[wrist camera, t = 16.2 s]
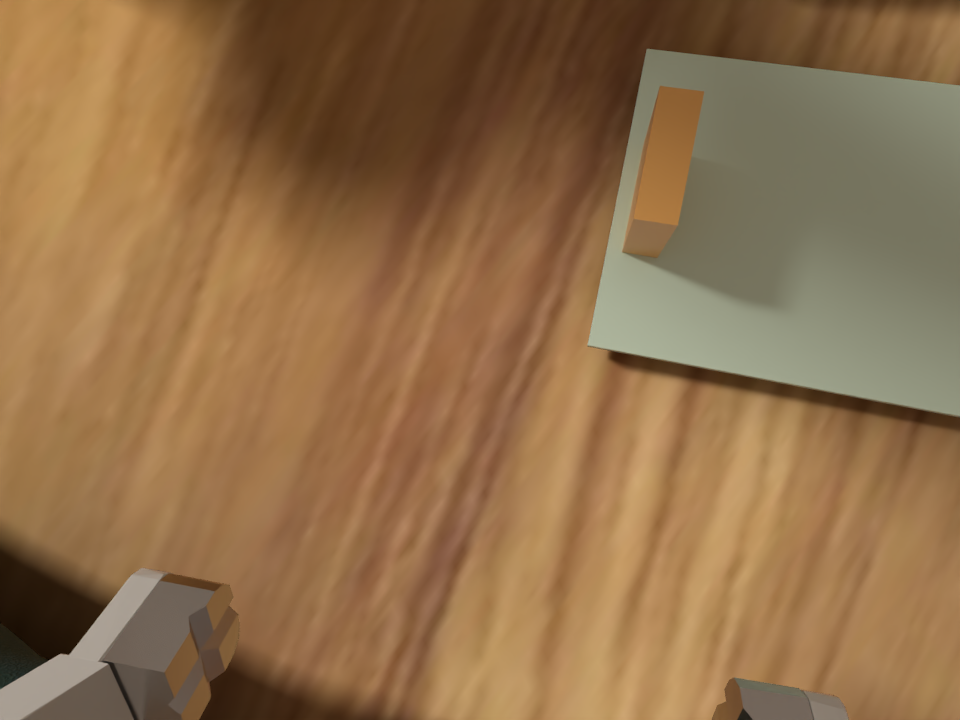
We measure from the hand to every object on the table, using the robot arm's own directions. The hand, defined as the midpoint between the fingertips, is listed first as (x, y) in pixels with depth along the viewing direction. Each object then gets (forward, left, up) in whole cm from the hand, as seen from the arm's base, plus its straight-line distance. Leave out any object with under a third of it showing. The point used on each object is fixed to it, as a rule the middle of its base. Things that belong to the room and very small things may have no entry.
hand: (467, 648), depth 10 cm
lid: (+1, +17, -22) cm, 28 cm away
